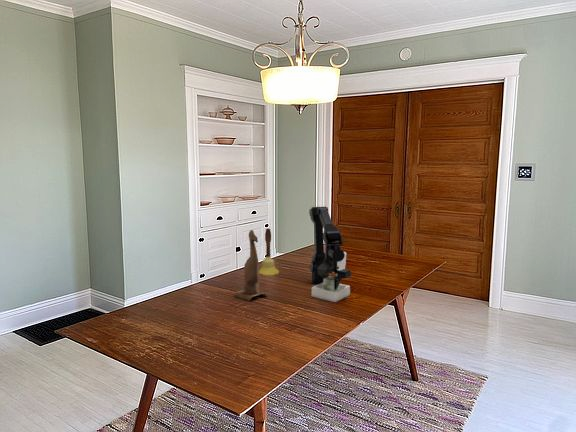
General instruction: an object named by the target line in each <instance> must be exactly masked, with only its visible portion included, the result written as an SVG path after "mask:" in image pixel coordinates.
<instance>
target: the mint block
mask: <svg viewBox="0 0 576 432" xmlns="http://www.w3.org/2000/svg"><path fill="white" fill-rule="evenodd" d="M334 277H335V276H329V277H327V278H324V286H323V289H324V290H329V291H333V292H335V291H338V288H337V290H335V279H334Z"/></svg>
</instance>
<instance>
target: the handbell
mask: <svg viewBox="0 0 576 432" xmlns="http://www.w3.org/2000/svg"><path fill="white" fill-rule="evenodd" d="M264 240H265V246H266V249H265V252H266V253H265V255H266V257H265V258H264V259H262V263H261V264H262V266H261V268H260V269H259V273H260V274H263V275H262V276H276V275H278V274H279V273H280V271H279V270H278V269H277V268H276V266H275V260H274V259H273V258H271V243H272V242H271V241H272V232H271V228H266V229H265V234H264ZM260 274H259V275H260ZM275 274H276V275H275Z"/></svg>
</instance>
